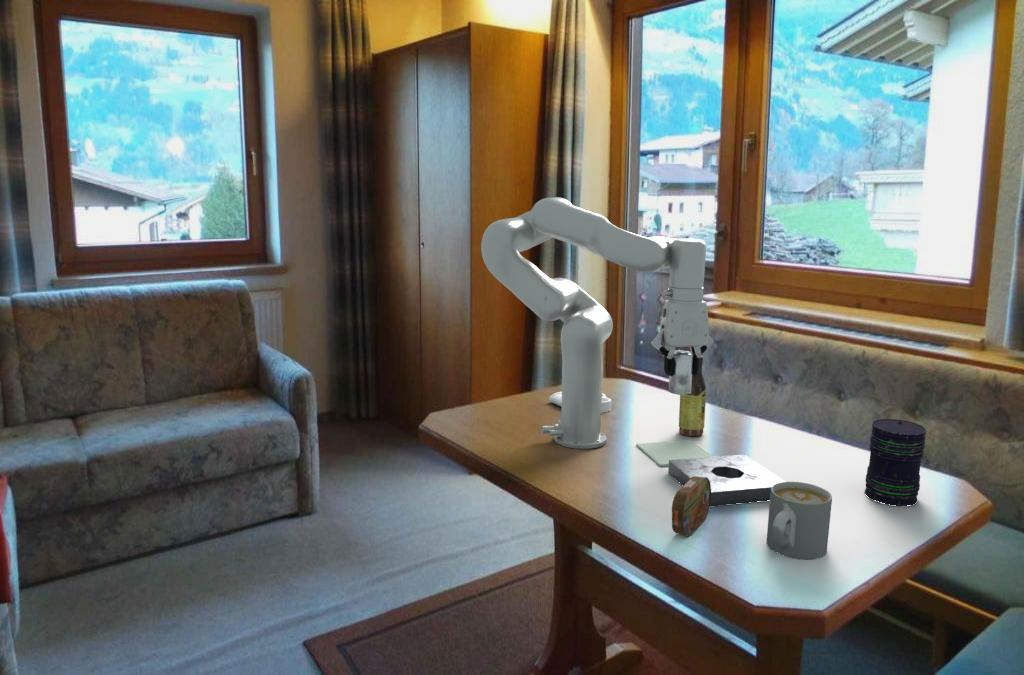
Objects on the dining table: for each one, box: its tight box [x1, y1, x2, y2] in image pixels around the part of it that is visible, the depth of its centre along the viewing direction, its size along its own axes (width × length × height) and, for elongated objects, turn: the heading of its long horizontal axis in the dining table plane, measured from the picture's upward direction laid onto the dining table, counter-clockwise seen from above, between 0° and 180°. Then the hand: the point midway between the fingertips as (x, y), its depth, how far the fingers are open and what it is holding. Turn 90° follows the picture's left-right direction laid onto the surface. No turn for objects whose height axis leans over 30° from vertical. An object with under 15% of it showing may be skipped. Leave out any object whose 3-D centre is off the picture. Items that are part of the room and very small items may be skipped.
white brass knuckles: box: [548, 391, 612, 414], centre depth 221 cm, size 3×18×15 cm
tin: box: [671, 476, 711, 537], centre depth 145 cm, size 15×3×8 cm, turn 148°
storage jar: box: [864, 418, 927, 507], centre depth 159 cm, size 10×10×15 cm
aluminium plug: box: [668, 350, 693, 395], centre depth 179 cm, size 5×5×9 cm
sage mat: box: [635, 439, 714, 468], centre depth 183 cm, size 14×14×1 cm
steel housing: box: [667, 454, 786, 507], centre depth 164 cm, size 18×18×3 cm
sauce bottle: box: [678, 355, 707, 437], centre depth 196 cm, size 6×6×20 cm
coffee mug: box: [766, 481, 833, 561], centre depth 136 cm, size 13×10×10 cm
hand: (680, 373), depth 179 cm, fingers closed on aluminium plug, 5 cm apart
